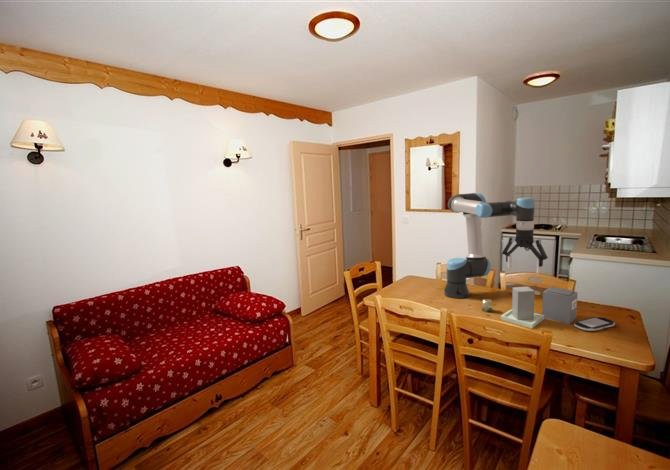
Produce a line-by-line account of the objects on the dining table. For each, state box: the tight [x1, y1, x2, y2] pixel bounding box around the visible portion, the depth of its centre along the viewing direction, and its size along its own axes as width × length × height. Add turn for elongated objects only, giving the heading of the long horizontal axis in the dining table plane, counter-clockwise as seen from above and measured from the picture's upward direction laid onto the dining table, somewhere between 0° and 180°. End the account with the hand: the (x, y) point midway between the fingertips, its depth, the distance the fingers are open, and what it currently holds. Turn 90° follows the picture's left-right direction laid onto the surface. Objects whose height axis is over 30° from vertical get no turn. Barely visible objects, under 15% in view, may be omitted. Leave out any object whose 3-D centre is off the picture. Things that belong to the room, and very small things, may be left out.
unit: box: [541, 286, 578, 325], centre depth 162 cm, size 12×10×15 cm
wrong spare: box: [481, 298, 493, 313], centre depth 178 cm, size 5×5×6 cm
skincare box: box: [511, 286, 536, 320], centre depth 163 cm, size 8×7×16 cm
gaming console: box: [573, 316, 616, 333], centre depth 153 cm, size 19×9×2 cm, turn 106°
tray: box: [500, 308, 545, 329], centre depth 165 cm, size 15×15×2 cm
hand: (523, 270), depth 161 cm, fingers open, 13 cm apart
